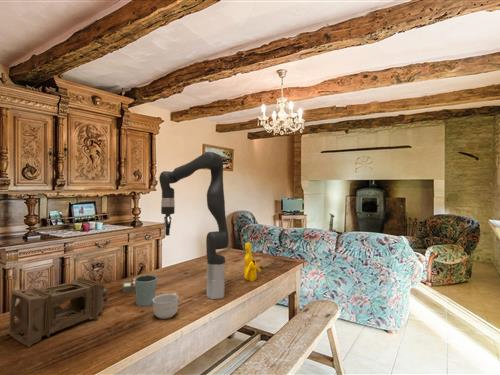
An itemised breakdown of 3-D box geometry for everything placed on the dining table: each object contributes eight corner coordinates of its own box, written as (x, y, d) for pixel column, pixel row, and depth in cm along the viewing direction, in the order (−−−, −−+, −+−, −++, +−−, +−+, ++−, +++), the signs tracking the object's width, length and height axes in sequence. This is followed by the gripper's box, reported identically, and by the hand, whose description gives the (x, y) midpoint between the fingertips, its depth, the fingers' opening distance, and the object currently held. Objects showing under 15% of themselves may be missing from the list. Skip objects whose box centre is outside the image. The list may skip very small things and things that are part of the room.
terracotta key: (139, 287, 159) (139, 283, 159) (133, 288, 157) (133, 283, 157) (139, 284, 163) (139, 280, 163) (133, 285, 162) (133, 280, 162)
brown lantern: (98, 309, 141) (97, 270, 143) (121, 314, 132) (119, 271, 133) (8, 340, 112) (7, 289, 113) (30, 348, 102) (29, 293, 104)
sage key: (130, 290, 157) (130, 285, 157) (123, 290, 156) (123, 286, 156) (130, 287, 161) (130, 282, 161) (124, 287, 160) (124, 283, 160)
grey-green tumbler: (150, 297, 151) (151, 273, 151) (160, 303, 144) (161, 278, 144) (130, 302, 144) (131, 277, 144) (140, 309, 137) (140, 283, 137)
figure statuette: (247, 284, 173) (248, 246, 172) (236, 281, 177) (237, 244, 177) (263, 276, 188) (264, 241, 187) (252, 274, 192) (253, 240, 192)
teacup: (164, 323, 123) (164, 304, 123) (146, 317, 129) (147, 298, 129) (188, 311, 135) (188, 294, 135) (171, 306, 141) (171, 289, 141)
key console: (150, 290, 160) (150, 282, 160) (121, 293, 155) (122, 285, 155) (149, 283, 171) (149, 275, 171) (123, 285, 166) (123, 278, 166)
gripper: (175, 206, 170) (175, 237, 170) (173, 204, 182) (172, 233, 182) (162, 206, 167) (161, 237, 167) (160, 204, 179) (160, 233, 180)
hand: (167, 235), depth 175 cm, fingers closed
